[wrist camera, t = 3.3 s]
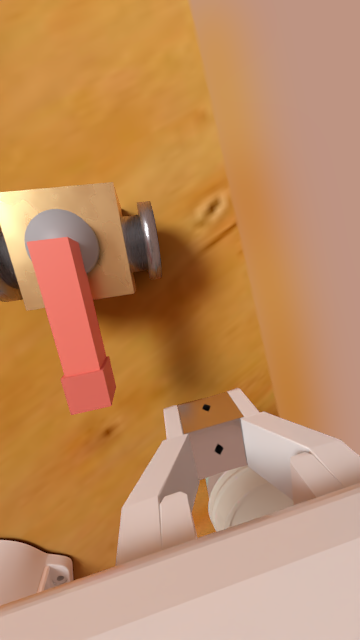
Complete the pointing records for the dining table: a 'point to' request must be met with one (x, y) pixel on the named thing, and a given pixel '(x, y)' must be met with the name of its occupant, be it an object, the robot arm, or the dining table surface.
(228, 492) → the coffee cup
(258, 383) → the dining table surface
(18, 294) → the valve
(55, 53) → the dining table surface
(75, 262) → the lever
